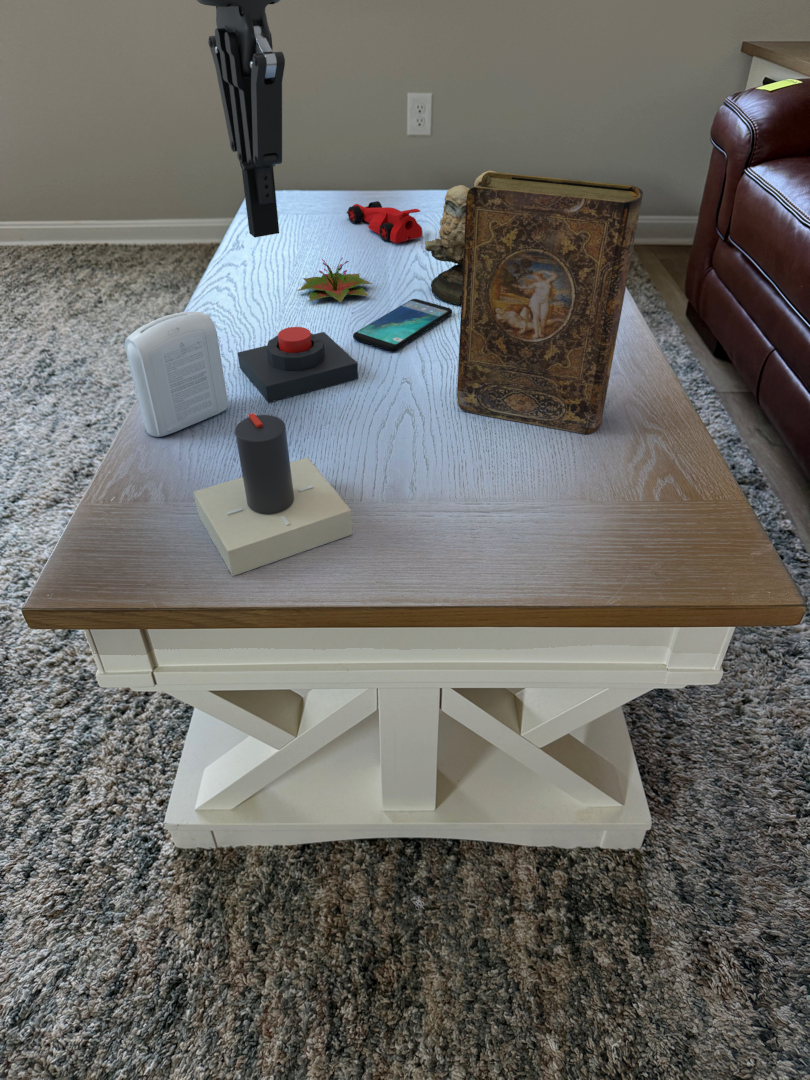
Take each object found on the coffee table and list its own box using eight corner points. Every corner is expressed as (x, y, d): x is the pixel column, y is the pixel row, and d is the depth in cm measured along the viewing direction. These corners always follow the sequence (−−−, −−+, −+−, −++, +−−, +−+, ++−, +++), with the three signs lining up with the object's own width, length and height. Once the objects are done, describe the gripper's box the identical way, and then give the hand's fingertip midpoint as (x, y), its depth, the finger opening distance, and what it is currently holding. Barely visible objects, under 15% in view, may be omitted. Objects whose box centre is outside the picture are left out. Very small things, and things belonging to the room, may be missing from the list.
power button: (286, 357, 95) (285, 344, 94) (274, 344, 97) (272, 331, 96) (317, 349, 96) (315, 336, 95) (304, 337, 99) (302, 324, 98)
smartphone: (454, 308, 112) (393, 348, 102) (454, 313, 112) (393, 353, 103) (413, 297, 115) (350, 334, 105) (413, 302, 115) (350, 339, 106)
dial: (301, 505, 73) (292, 429, 68) (257, 520, 72) (244, 443, 66) (283, 481, 76) (273, 406, 71) (240, 494, 75) (227, 419, 69)
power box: (268, 402, 94) (264, 372, 91) (239, 368, 100) (235, 339, 98) (358, 378, 98) (357, 349, 95) (325, 346, 105) (322, 318, 102)
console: (232, 576, 70) (227, 550, 68) (198, 516, 77) (192, 490, 75) (352, 534, 75) (351, 508, 73) (310, 480, 81) (307, 455, 79)
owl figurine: (419, 306, 114) (420, 182, 103) (429, 275, 123) (431, 158, 112) (544, 313, 112) (558, 188, 101) (545, 281, 121) (558, 162, 110)
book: (604, 412, 92) (646, 186, 75) (596, 436, 88) (638, 204, 71) (469, 388, 96) (481, 170, 80) (456, 410, 92) (465, 186, 76)
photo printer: (215, 396, 95) (197, 297, 87) (235, 409, 92) (219, 309, 84) (138, 428, 89) (112, 326, 81) (158, 443, 87) (133, 339, 79)
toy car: (369, 212, 147) (368, 183, 143) (423, 239, 135) (423, 209, 132) (342, 218, 144) (340, 189, 141) (394, 246, 133) (393, 216, 130)
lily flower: (299, 311, 113) (296, 280, 110) (292, 279, 122) (289, 249, 119) (381, 303, 115) (380, 273, 112) (368, 272, 124) (367, 243, 121)
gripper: (306, -51, 63) (324, 246, 78) (247, -59, 71) (274, 210, 87) (216, -48, 60) (253, 259, 75) (166, -57, 69) (208, 220, 84)
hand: (264, 233), depth 81 cm, fingers closed
